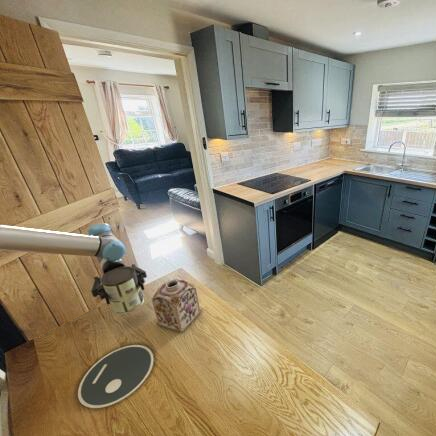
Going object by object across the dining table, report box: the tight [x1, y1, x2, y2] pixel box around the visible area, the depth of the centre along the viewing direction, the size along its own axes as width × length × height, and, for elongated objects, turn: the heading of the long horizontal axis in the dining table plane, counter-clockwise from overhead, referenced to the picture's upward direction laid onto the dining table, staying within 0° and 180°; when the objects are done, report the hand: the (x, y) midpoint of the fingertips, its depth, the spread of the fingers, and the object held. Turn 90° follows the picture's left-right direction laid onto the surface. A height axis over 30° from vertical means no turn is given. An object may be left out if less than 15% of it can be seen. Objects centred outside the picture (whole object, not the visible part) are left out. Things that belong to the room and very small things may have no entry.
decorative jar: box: [151, 278, 201, 333], centre depth 94 cm, size 12×12×18 cm
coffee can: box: [101, 265, 145, 315], centre depth 88 cm, size 10×10×14 cm
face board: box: [77, 344, 154, 409], centre depth 76 cm, size 20×20×1 cm
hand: (125, 293), depth 85 cm, fingers closed on coffee can, 10 cm apart
